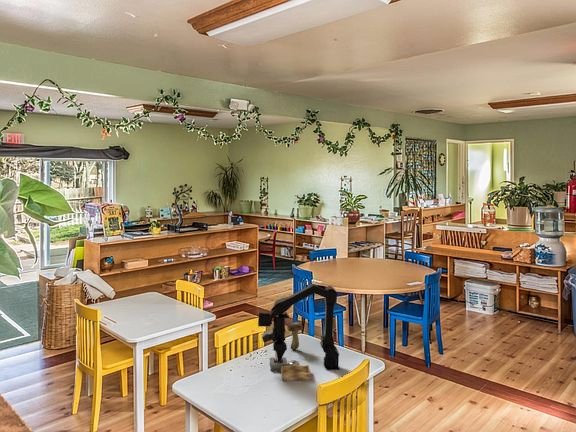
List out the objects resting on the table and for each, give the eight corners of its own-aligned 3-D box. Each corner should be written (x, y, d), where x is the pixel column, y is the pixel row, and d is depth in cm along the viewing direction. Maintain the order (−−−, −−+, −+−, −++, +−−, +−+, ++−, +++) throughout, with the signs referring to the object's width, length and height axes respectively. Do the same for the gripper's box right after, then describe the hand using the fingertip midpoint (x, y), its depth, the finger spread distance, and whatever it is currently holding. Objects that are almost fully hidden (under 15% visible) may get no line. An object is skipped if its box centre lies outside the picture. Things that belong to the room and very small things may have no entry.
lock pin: (282, 365, 217) (282, 345, 217) (282, 368, 213) (283, 348, 213) (274, 365, 217) (274, 345, 216) (274, 368, 213) (274, 348, 212)
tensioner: (298, 363, 220) (298, 357, 220) (300, 370, 212) (300, 364, 212) (269, 363, 219) (269, 357, 219) (270, 370, 211) (270, 364, 211)
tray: (308, 371, 211) (308, 365, 211) (311, 380, 202) (311, 373, 202) (280, 371, 210) (281, 365, 210) (282, 380, 201) (282, 374, 201)
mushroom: (296, 354, 231) (296, 326, 229) (282, 350, 236) (283, 323, 234) (306, 349, 238) (307, 322, 237) (293, 345, 243) (294, 318, 242)
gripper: (262, 320, 222) (261, 350, 223) (263, 333, 204) (262, 366, 205) (284, 320, 223) (283, 350, 224) (287, 333, 204) (286, 365, 206)
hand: (278, 357), depth 215 cm, fingers open, 8 cm apart
